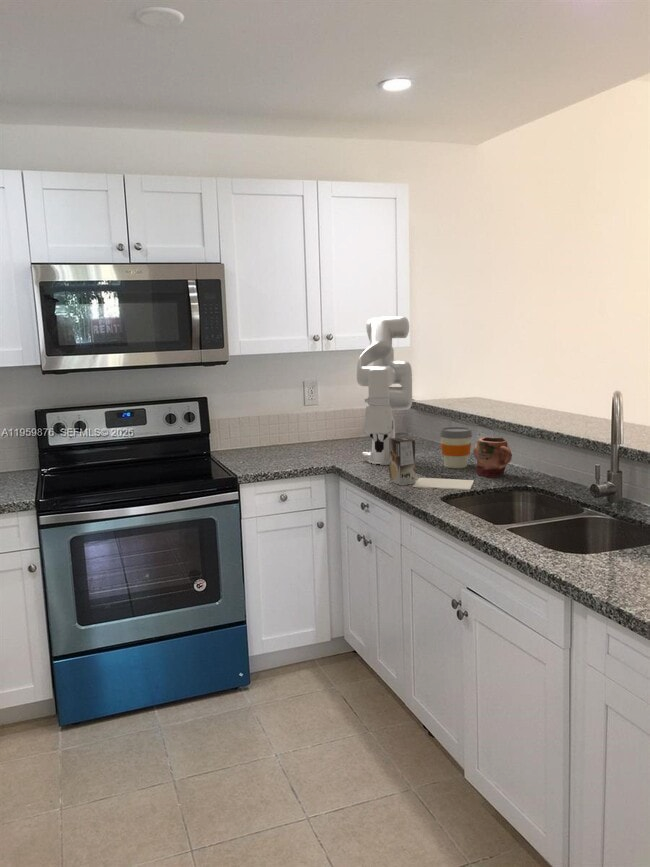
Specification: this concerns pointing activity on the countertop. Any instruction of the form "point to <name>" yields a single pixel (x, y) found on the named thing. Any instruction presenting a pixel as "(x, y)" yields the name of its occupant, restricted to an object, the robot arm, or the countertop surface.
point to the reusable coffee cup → (455, 446)
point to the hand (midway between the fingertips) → (379, 451)
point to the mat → (444, 483)
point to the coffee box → (402, 460)
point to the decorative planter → (491, 456)
